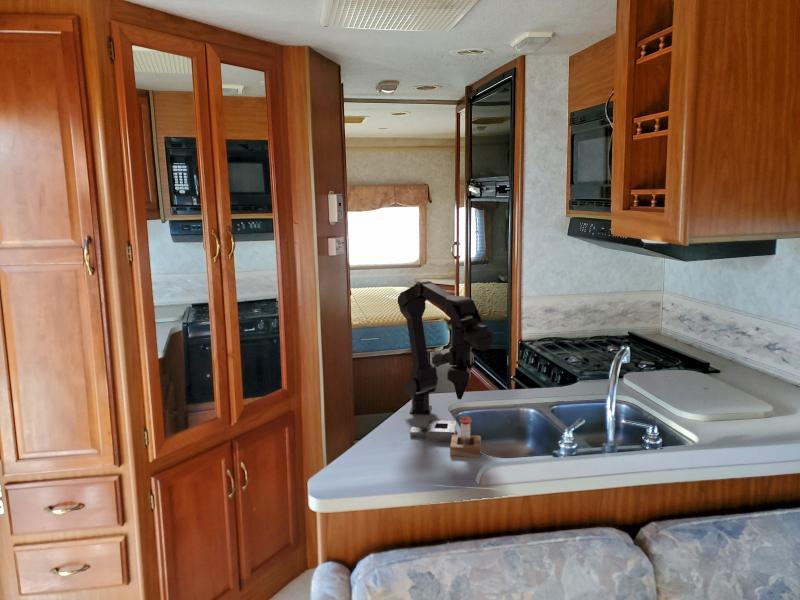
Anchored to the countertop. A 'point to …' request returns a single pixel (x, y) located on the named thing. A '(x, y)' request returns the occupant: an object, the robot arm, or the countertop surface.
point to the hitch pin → (465, 430)
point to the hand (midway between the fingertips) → (460, 393)
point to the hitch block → (436, 431)
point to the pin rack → (465, 446)
